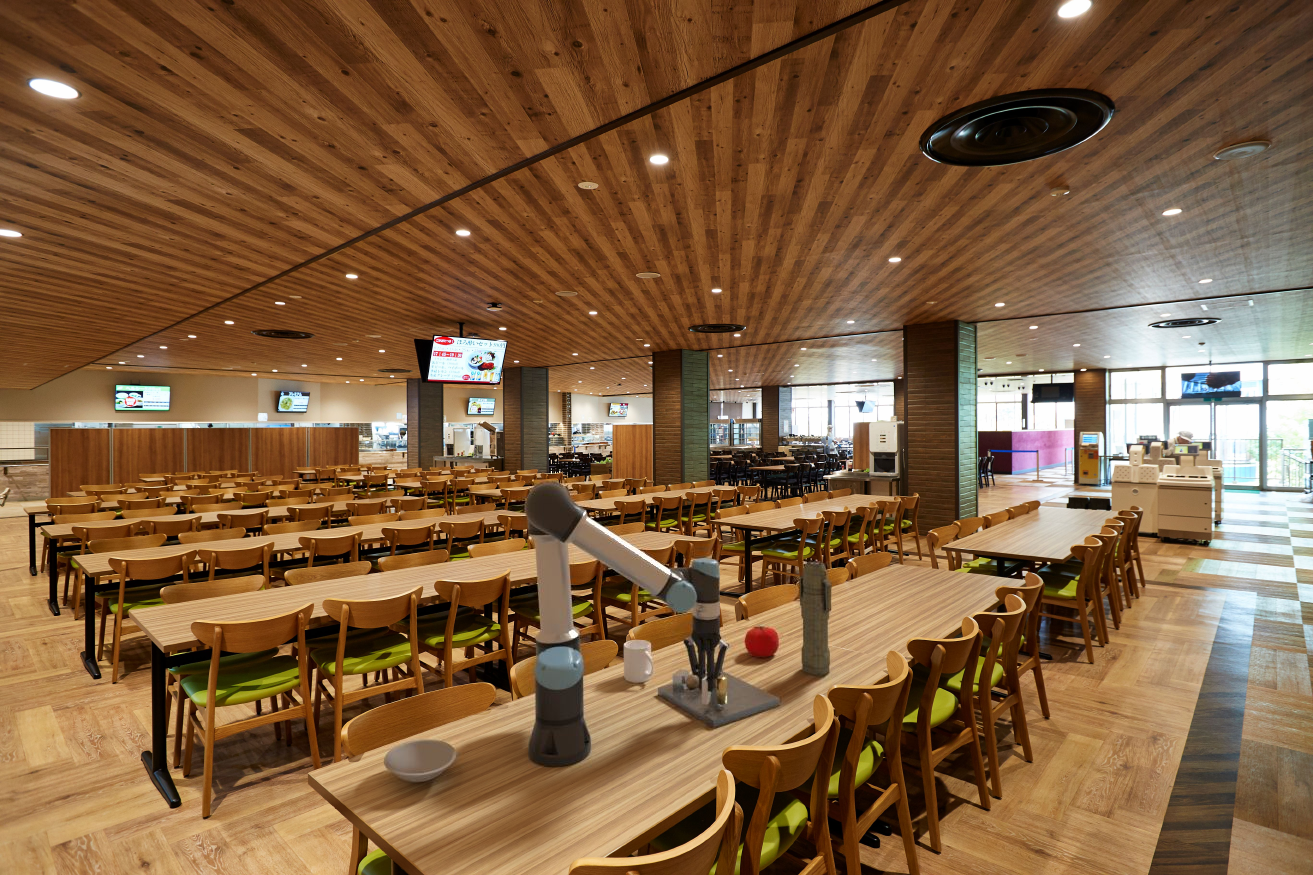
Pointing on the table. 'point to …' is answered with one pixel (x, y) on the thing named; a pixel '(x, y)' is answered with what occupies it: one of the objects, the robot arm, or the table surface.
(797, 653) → the table surface
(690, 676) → the tan wooden ball
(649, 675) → the mug
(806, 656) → the thermos
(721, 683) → the lever
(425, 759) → the dish
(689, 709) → the bench plate
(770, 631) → the tomato
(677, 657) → the table surface
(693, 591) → the robot arm
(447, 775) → the table surface
